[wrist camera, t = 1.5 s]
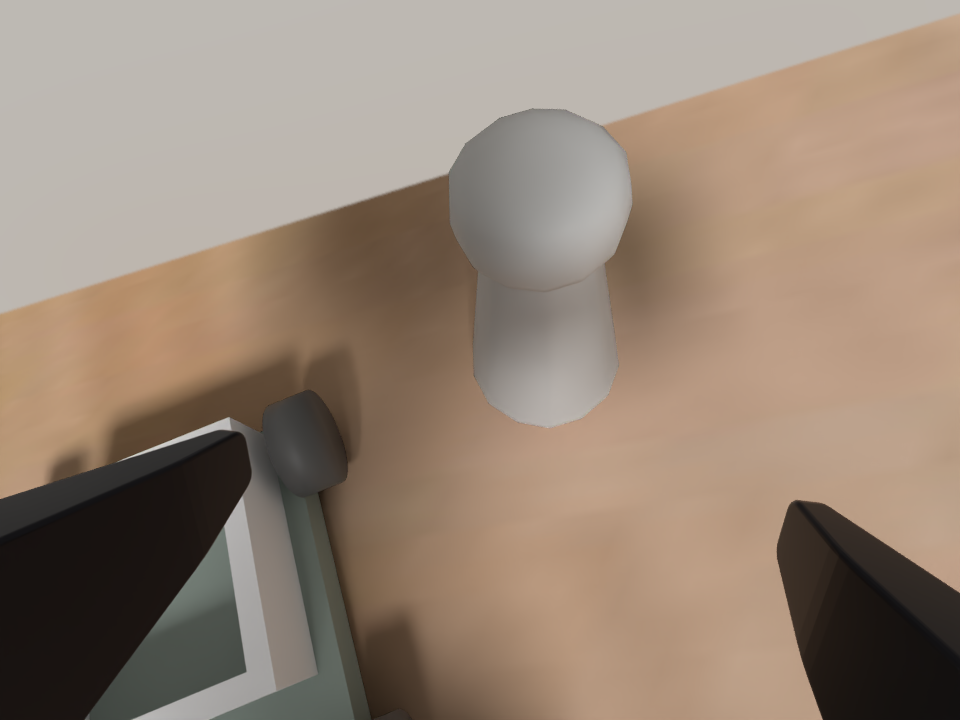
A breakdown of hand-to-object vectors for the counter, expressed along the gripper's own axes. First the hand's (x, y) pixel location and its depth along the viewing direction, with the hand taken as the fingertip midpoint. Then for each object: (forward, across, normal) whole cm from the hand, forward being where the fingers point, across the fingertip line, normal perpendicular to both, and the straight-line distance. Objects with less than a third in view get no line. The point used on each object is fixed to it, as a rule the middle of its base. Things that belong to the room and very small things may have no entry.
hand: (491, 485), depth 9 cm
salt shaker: (+14, 0, +4) cm, 15 cm away
